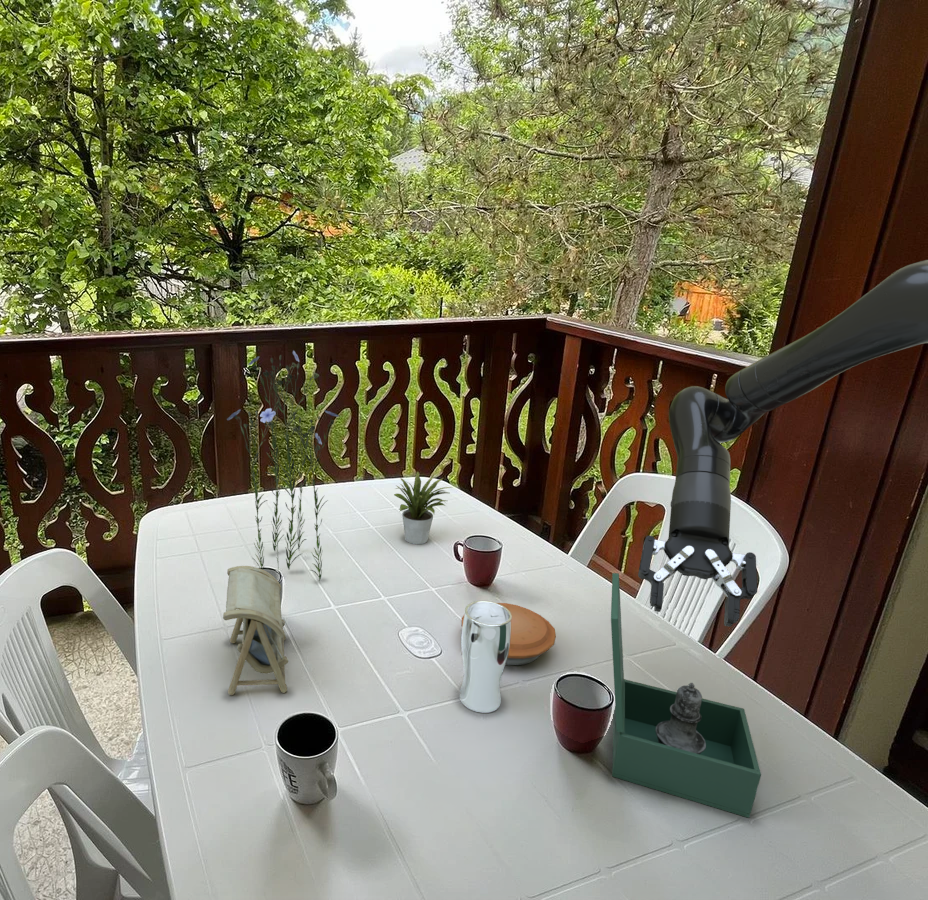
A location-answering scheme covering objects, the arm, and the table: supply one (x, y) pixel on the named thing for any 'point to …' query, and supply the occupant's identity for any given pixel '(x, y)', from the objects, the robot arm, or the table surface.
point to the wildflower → (268, 417)
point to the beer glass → (484, 654)
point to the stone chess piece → (683, 722)
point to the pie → (527, 635)
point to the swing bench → (256, 624)
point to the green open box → (682, 772)
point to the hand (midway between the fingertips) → (692, 617)
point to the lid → (617, 652)
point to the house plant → (418, 509)
